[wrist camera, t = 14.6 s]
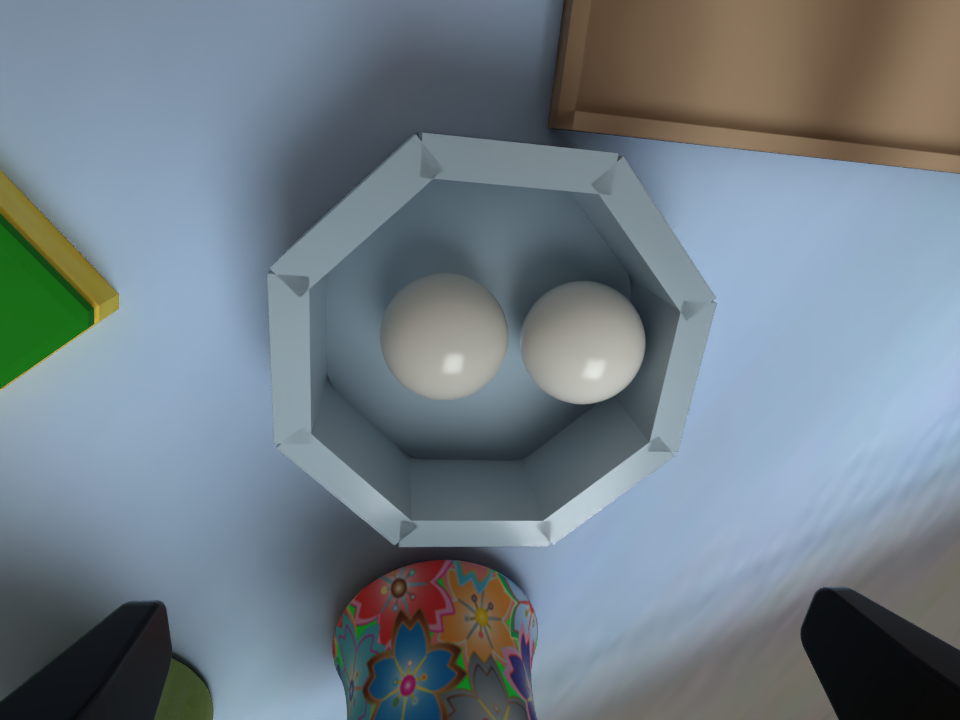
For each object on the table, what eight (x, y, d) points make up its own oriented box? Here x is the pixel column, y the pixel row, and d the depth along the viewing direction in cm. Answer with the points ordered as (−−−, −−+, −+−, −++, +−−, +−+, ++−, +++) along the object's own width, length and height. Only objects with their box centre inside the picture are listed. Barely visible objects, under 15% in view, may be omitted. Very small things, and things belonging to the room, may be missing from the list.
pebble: (523, 414, 16) (388, 421, 15) (484, 380, 19) (372, 384, 18) (531, 279, 15) (389, 276, 14) (489, 269, 19) (373, 266, 18)
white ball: (544, 276, 19) (658, 278, 18) (543, 383, 20) (652, 393, 19) (500, 283, 16) (634, 287, 14) (500, 410, 17) (628, 427, 15)
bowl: (681, 159, 18) (752, 167, 14) (612, 477, 22) (653, 545, 19) (293, 118, 16) (260, 115, 13) (300, 473, 21) (278, 547, 17)
